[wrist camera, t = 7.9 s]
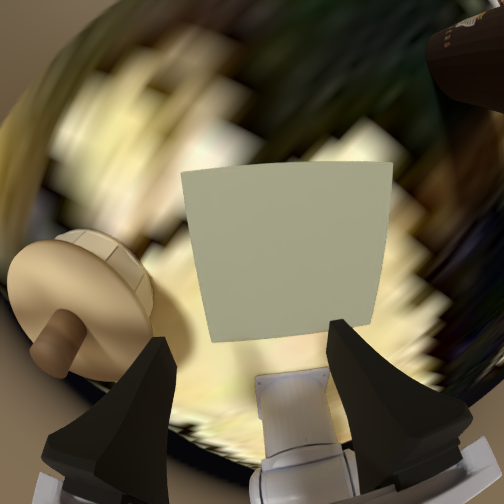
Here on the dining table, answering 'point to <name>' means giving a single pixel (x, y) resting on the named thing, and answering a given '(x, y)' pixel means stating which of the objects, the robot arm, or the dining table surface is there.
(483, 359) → the dining table surface
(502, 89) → the coffee mug
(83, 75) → the dining table surface
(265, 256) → the mat
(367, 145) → the dining table surface
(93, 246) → the bowl
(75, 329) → the lid
